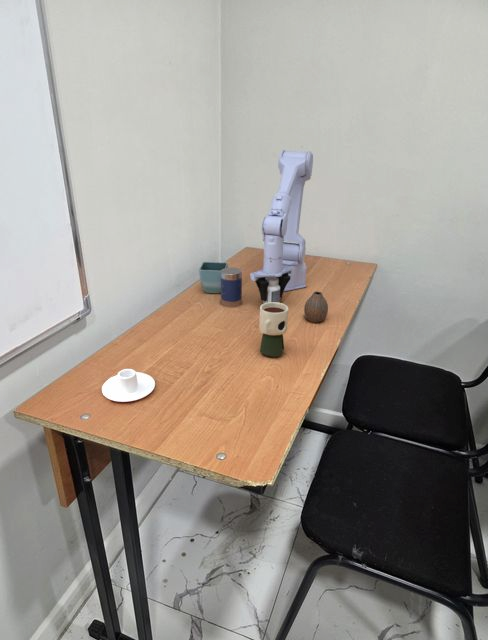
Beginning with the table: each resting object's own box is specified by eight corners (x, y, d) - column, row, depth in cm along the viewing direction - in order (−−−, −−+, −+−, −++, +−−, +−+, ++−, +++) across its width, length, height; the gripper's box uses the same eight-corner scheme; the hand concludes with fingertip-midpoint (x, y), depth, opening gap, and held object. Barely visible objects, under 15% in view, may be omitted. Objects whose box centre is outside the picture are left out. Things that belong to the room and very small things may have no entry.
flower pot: (228, 286, 158) (228, 262, 154) (225, 296, 150) (225, 270, 146) (203, 285, 159) (202, 261, 154) (199, 295, 151) (198, 270, 147)
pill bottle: (281, 303, 143) (282, 277, 139) (277, 309, 139) (278, 282, 135) (265, 301, 145) (266, 275, 140) (260, 307, 140) (261, 280, 136)
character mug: (277, 365, 111) (279, 318, 105) (251, 359, 114) (252, 313, 108) (291, 346, 120) (295, 302, 113) (267, 341, 122) (269, 297, 116)
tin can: (235, 297, 149) (235, 266, 144) (245, 304, 144) (245, 272, 139) (217, 301, 147) (217, 269, 141) (226, 308, 141) (226, 275, 136)
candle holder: (107, 375, 107) (104, 360, 105) (157, 373, 108) (155, 358, 106) (97, 405, 97) (94, 389, 95) (153, 403, 98) (151, 386, 96)
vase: (329, 317, 136) (332, 290, 131) (323, 326, 130) (326, 299, 126) (307, 313, 138) (309, 287, 134) (300, 322, 133) (302, 295, 128)
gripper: (259, 264, 128) (257, 307, 135) (300, 256, 134) (297, 298, 140) (247, 257, 133) (246, 299, 140) (287, 250, 139) (285, 291, 146)
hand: (271, 298), depth 141 cm, fingers closed on pill bottle, 5 cm apart
